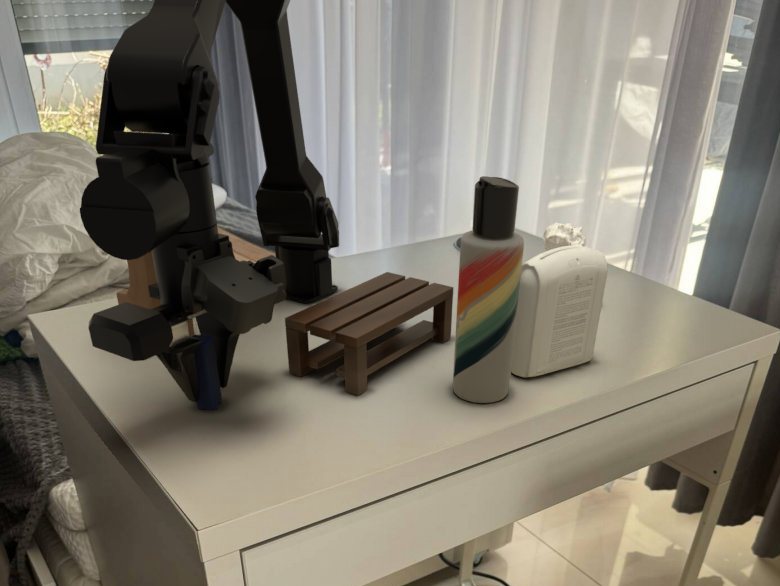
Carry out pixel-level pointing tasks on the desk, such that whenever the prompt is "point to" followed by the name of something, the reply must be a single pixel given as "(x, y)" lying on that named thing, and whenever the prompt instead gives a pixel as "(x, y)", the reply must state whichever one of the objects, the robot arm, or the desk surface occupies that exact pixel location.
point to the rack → (367, 326)
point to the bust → (563, 236)
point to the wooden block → (143, 285)
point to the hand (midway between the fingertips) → (207, 393)
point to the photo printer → (558, 310)
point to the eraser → (207, 374)
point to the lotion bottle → (488, 294)
